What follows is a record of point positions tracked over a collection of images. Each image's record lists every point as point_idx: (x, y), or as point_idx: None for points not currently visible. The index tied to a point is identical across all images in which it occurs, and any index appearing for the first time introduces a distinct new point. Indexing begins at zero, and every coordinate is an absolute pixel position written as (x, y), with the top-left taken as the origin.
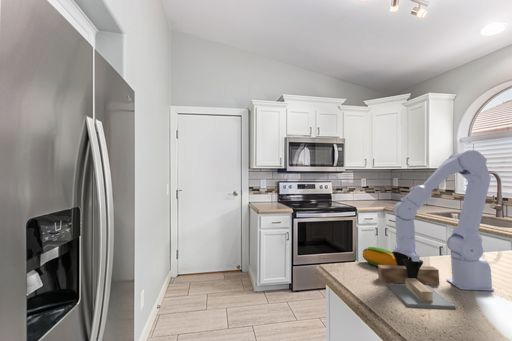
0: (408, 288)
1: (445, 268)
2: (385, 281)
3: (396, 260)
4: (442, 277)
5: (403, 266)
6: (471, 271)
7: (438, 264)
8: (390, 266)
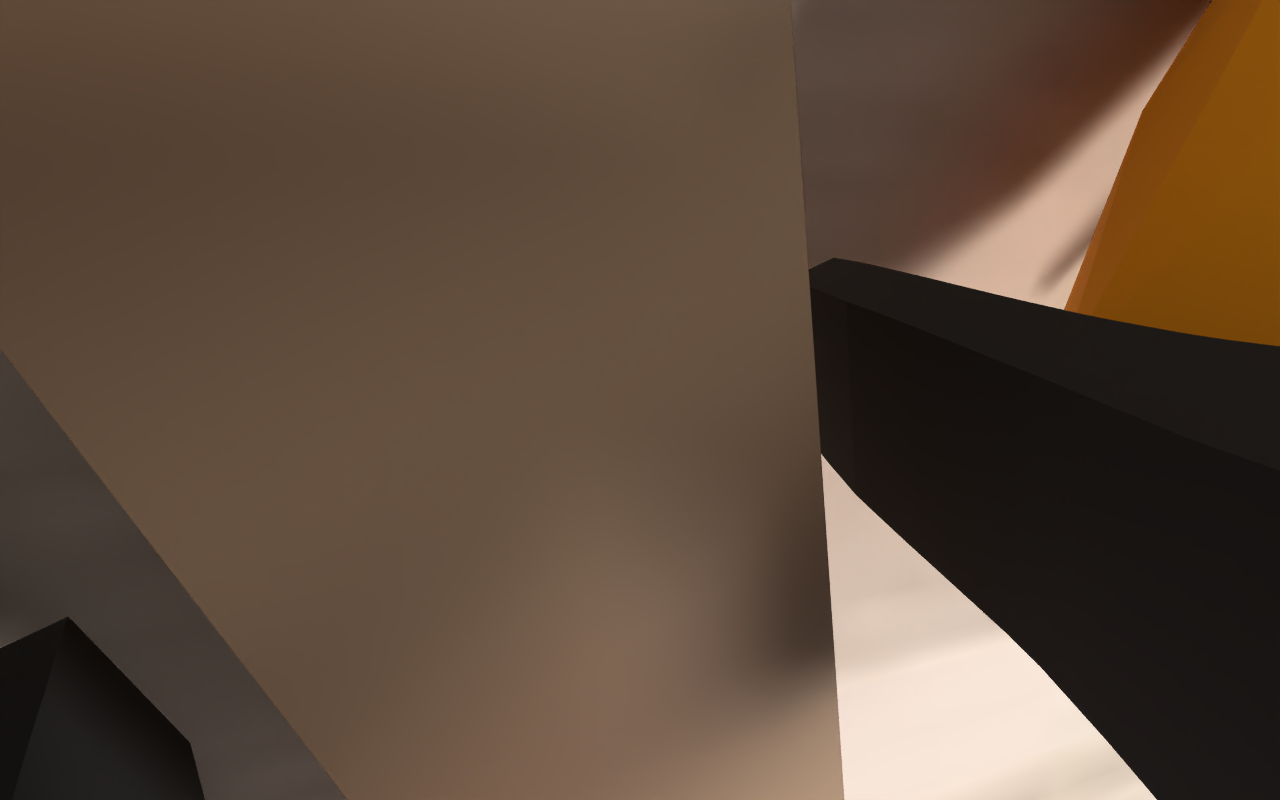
0: None
1: None
2: None
3: (1227, 402)
4: (847, 782)
5: (716, 635)
6: None
7: None
8: (483, 5)
